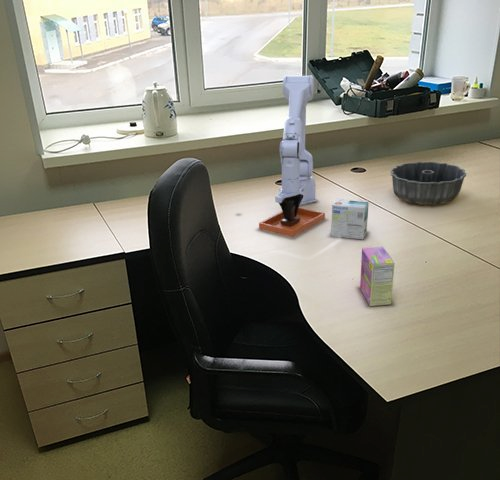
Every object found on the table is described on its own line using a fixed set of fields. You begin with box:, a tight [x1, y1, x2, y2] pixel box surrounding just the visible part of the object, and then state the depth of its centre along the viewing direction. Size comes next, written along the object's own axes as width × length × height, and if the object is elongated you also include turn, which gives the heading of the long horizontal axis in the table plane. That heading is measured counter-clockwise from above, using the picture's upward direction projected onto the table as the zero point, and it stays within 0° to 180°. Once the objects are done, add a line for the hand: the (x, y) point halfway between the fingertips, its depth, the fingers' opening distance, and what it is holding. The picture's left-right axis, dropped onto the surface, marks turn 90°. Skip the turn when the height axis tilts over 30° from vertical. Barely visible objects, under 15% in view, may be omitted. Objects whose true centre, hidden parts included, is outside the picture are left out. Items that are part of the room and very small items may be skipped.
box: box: [359, 246, 396, 307], centre depth 150 cm, size 10×6×12 cm, turn 5°
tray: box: [258, 207, 326, 238], centre depth 198 cm, size 20×14×2 cm
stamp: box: [281, 204, 300, 227], centre depth 197 cm, size 6×4×6 cm
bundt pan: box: [390, 161, 467, 206], centre depth 214 cm, size 26×26×10 cm
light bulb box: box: [330, 198, 370, 240], centre depth 187 cm, size 11×7×11 cm, turn 71°
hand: (290, 217), depth 197 cm, fingers closed on stamp, 3 cm apart
